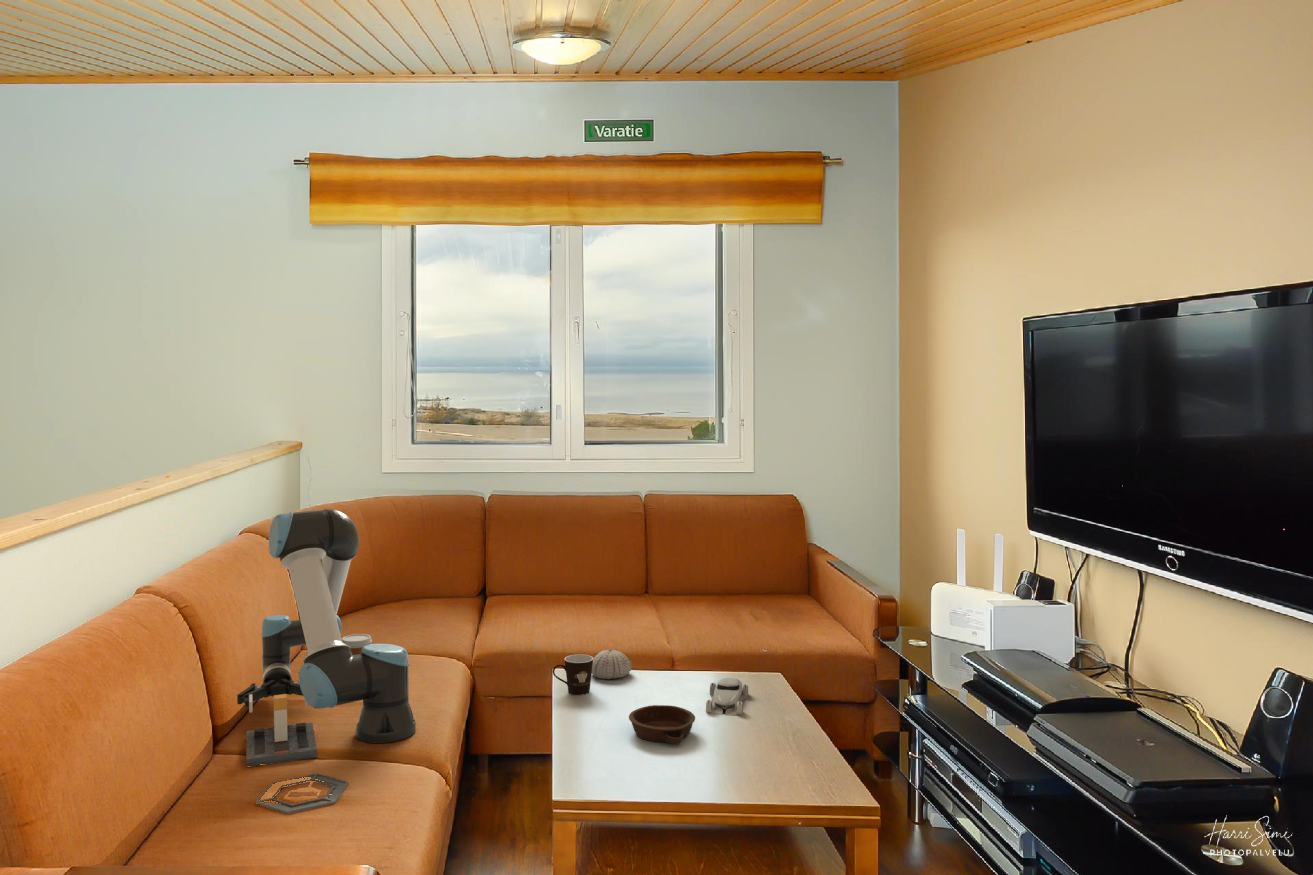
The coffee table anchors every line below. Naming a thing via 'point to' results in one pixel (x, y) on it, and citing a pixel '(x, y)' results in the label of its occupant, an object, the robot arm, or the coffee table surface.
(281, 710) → the breaker lever
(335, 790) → the hexagonal plaque
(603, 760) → the coffee table surface
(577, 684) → the coffee mug
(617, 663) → the sea urchin shell
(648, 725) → the dish
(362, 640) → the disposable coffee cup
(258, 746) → the panel
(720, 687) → the car model
